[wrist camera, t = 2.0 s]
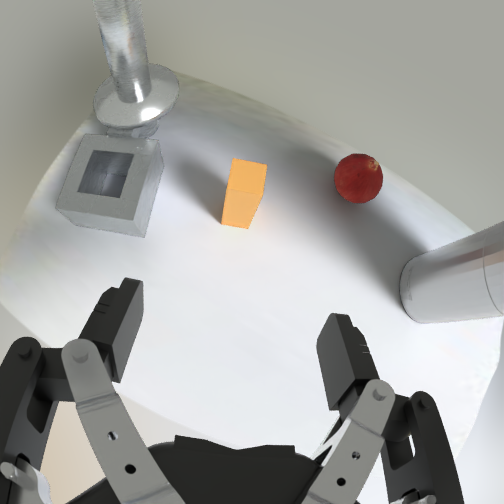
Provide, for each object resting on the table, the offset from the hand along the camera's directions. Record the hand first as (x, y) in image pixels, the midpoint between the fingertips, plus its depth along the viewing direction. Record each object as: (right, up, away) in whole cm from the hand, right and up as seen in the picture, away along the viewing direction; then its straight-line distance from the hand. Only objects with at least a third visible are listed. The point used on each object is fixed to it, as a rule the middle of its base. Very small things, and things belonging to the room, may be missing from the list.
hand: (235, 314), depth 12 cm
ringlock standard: (-14, +14, +20) cm, 29 cm away
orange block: (-1, +7, +21) cm, 22 cm away
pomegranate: (+13, +10, +24) cm, 29 cm away
